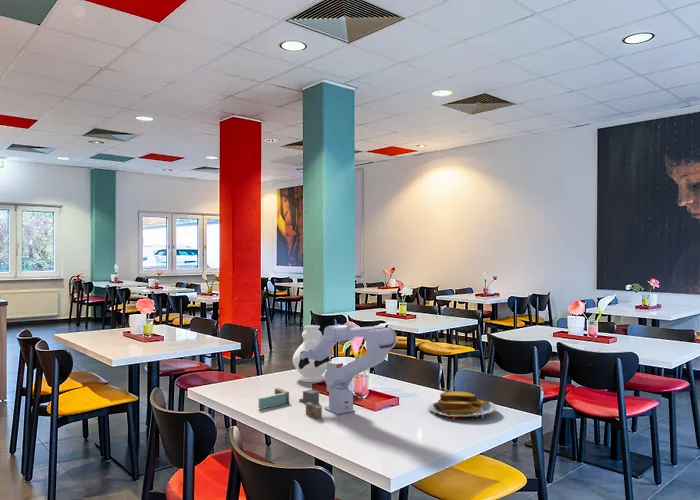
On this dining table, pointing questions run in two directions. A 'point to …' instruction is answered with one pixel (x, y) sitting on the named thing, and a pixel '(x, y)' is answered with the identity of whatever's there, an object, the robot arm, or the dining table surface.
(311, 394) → the door stop
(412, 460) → the dining table surface
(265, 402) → the door
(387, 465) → the dining table surface
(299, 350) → the decorative vase
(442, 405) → the food on plate
